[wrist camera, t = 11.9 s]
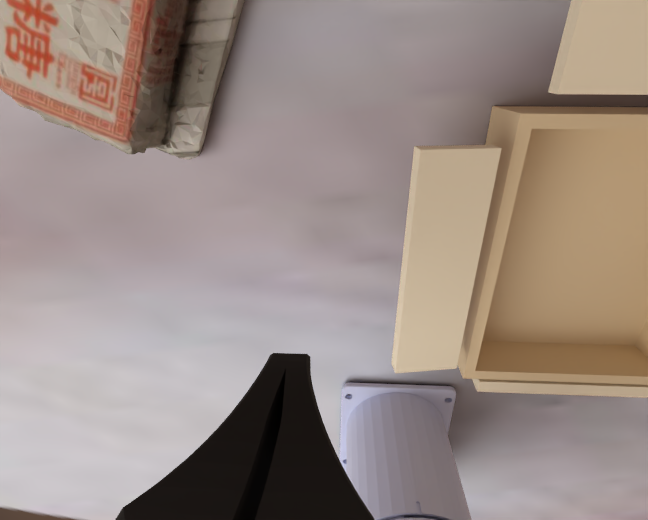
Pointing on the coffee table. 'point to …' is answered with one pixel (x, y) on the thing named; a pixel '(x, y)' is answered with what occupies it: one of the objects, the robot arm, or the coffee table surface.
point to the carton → (563, 256)
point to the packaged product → (120, 66)
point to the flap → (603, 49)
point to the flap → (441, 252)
